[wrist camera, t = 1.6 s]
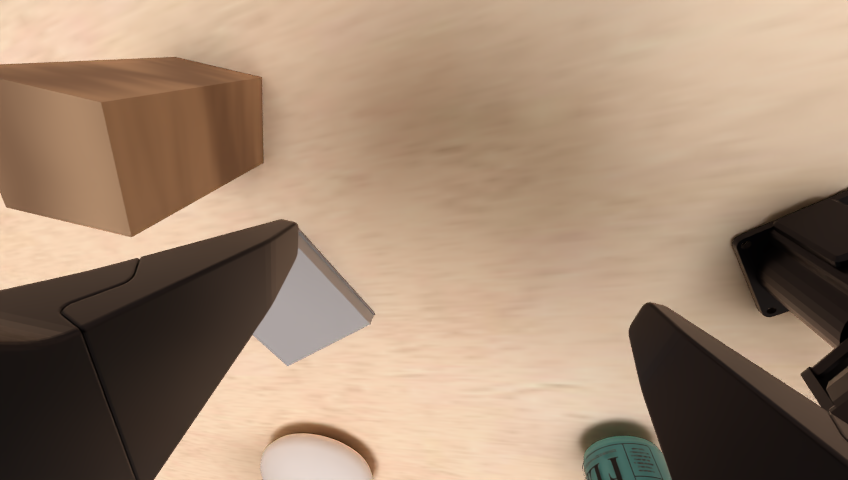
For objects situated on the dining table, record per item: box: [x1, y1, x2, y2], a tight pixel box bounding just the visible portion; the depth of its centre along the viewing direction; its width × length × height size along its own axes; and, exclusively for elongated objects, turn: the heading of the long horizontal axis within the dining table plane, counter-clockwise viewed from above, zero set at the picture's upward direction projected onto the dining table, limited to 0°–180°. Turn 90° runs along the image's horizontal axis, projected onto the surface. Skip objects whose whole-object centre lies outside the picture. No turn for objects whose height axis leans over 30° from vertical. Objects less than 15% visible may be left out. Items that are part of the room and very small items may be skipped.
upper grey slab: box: [253, 234, 373, 366], centre depth 27 cm, size 9×9×1 cm
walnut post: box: [0, 57, 263, 237], centre depth 17 cm, size 5×5×10 cm
